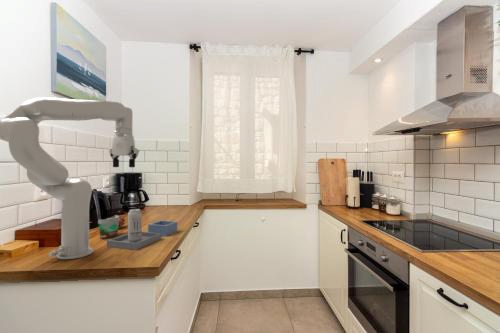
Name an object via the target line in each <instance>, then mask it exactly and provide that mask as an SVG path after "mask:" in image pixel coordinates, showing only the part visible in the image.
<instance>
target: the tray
mask: <svg viewBox="0 0 500 333" xmlns="http://www.w3.org/2000/svg"><path fill="white" fill-rule="evenodd" d="M160 240H162V236H161V233H152V232H148V231H142V239H140V241H139V242H129V240H128V233H125V234H122V235H118V236H116V237H113V238H109V239H106V247H108V248H114V249H115V248H116V249H124V250H132V251H133V250H134V251H137V250H139V249H142V248H145V247H146V246H148V245H151V244H153V243H155V242H158V241H160Z"/></svg>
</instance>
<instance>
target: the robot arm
mask: <svg viewBox="0 0 500 333" xmlns="http://www.w3.org/2000/svg"><path fill="white" fill-rule="evenodd" d="M98 119H101V120H103V121H107V122H108V121H109V122H110V121H112V122H115V130H114V134H115V135H113V137H112V138H113V139H112V145H111V146H112V147H111V149H109V150H108V152H109V155H110V158H111V159H112V168H119V167H120V159H119V158H120V156H127V157H128V158H129V159H128V167H129V168H135V166H136V159H137V157H138V156H139V154H140V150H139V149H138V148H136V147H135V146H136V145H135V139H134V138H135V137H134V135H133V109H132V108H130V107H128V106H125V105H124V104H123V103H121V102H118V101H111V100H110V101H108V100H91V99H90V100H89V99H70V98H62V97H61V98H58V97H48V96H47V97H46V96H45V97H44V96H42V97H35V98H31V99H28V100H26V101H24V102H22V103H21V104H20V105H19V106H17V107H16V108H14V110H12V111H11V112H10V113H9V114H7V115H6V116H5V117H3V118H2V119H1V120H0V139H1V141H4V142H7V143H8V149H9V153H10V155H11V156H12V159H14V161H15V162H16V163H17V164H19V165H20V166H21V167H23V168H24V169H26V176H27V179H28V180H29V181H30V182H31V183H32V184H33V185H35V186H36V187H37V188H39V189H41V190H42V191H44V192H45V193H46V194H48V195H49V196H50V197H53V198H54V199H56V200H60V201H63V203H62V208H61V216H60V217H61V227H60V228H61V234H60V235H61V240H60V241H61V242H60V243H61V245H59V246H58V248H57V249H56V250H52V251H50V252H48V257H49V258H52V257H56V258H57V259H58V260H74V259H80V258H83V257H87V256H89V255H91V254H92V253H94V248H93V247H90V205H91V204H90V202H91V197H92V191H93V190H92V189H93V188H92V186H91V184H90V182H89V181H87V180H85V179H82V178H78V177H77V178H73V177H69V174H70V173H69V170H68V169H67V167H65V165H63V164H62V163H60V161H58V160H57V159H56V158H54V157H53V156H52V155H50V154H49V153H48V152H46V150H44V148H42V146H41V145H40V142H39V141H40V139H39V136H40V128H39V124H40V123H41V122H43V121H44V122H45V121H78V122H79V121H90V120H98Z"/></svg>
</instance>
